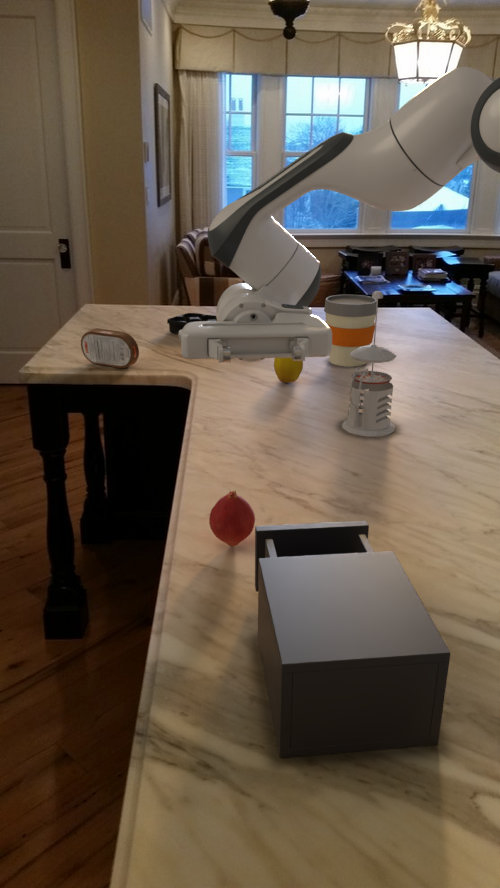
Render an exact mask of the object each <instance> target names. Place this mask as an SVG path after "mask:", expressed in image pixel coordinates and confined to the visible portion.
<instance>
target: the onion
mask: <svg viewBox="0 0 500 888" xmlns="http://www.w3.org/2000/svg"><path fill="white" fill-rule="evenodd" d="M208 519H209V522H208V523H209V527H210V530H211V532H212V533H213V535H214V536H215V537H216V538H217V539H218V540H219V541H221V542H222V543H224V544H226V545H228V546H229V547H236V546H238V545H239V544H240V543H241V542H243V541H245V540H246V539H247V538H249V536H250V535H251V534H252V532H253V531H254V529H255V523H256V515H255V512H254V509H253V507H252V506H251V505H250V502H248V501H247V500H246V499H245V498H244V497H242V496H240V495H239V494H238V493H237V490H235V489H232V490H230V491H229V492H228V493H226V494H225V495H223V496H221V497H220V498H219V499H218V500H217V501H216V503H215V504H214V505H213V506H212V508H211V510H210V513H209V518H208Z"/></svg>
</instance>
